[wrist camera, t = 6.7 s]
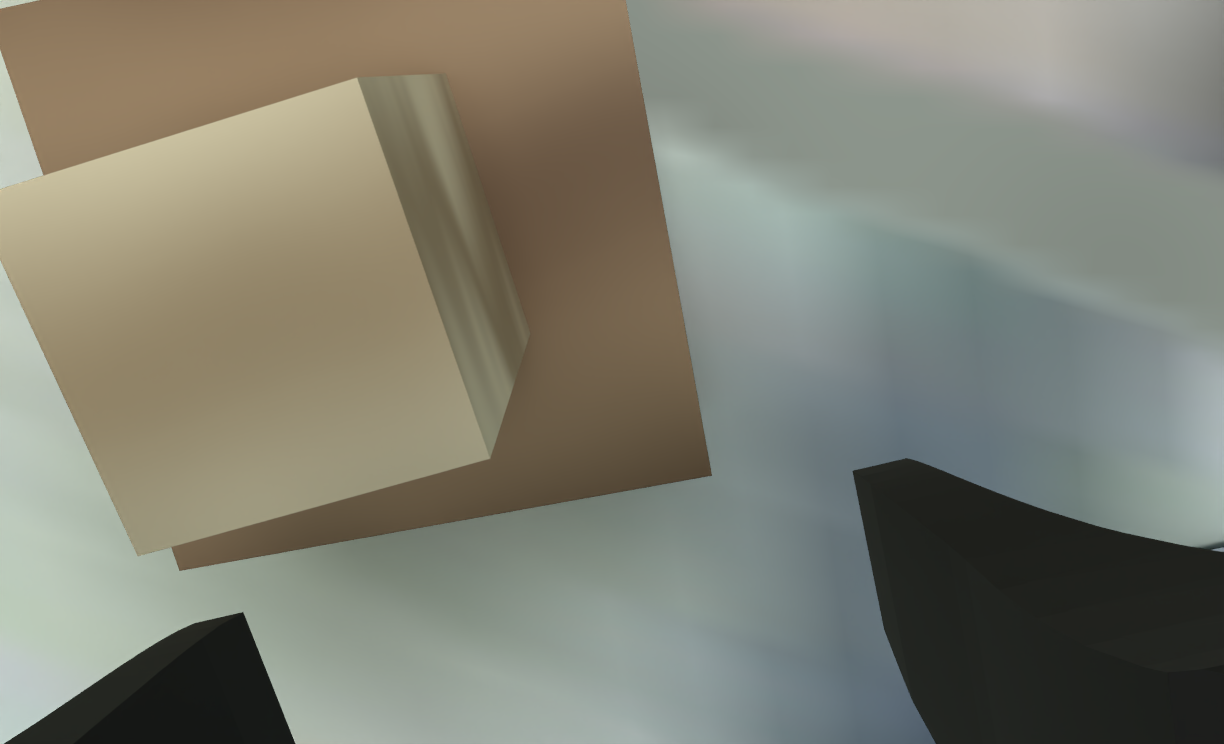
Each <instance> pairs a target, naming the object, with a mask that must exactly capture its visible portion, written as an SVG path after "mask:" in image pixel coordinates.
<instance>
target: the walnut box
mask: <svg viewBox="0 0 1224 744" xmlns="http://www.w3.org/2000/svg"><path fill="white" fill-rule="evenodd" d="M0 50H1V53H2V56H3V59H4V62H5V65H6V68H7V70H8V73H9V76H10V79H11V82H12V85H13V88H14V91H15V94H16V97H17V100H18V102H19V105H20V108H21V111H22V114H23V117H24V120H25V123H26V126H27V129H28V132H29V134H30V137H31V140H32V143H33V146H34V149H35V152H36V155H37V158H38V161H39V163H40V166H41V169H42V172H43V175H47V174H50V173H53V172H57V171H60V170H63V169H66V168H69V167H73V166H76V165H79V164H82V163H85V162H89V161H92V160H95V159H98V158H101V157H105V156H108V155H111V154H114V153H117V152H121V151H124V150H127V149H130V148H133V147H136V146H140V145H143V144H146V143H149V142H152V141H156V140H159V139H162V138H165V137H168V136H172V135H175V134H178V133H181V132H184V131H188V130H191V129H194V128H197V127H200V126H204V125H207V124H210V123H213V122H216V121H220V120H223V119H226V118H229V117H232V116H236V115H239V114H242V113H245V112H248V111H252V110H255V109H258V108H261V107H264V106H268V105H271V104H274V103H277V102H280V101H284V100H287V99H290V98H293V97H296V96H300V95H303V94H306V93H309V92H312V91H316V90H319V89H322V88H325V87H328V86H332V85H335V84H338V83H341V82H344V81H348V80H351V79H354V78H359V77H380V76H401V75H422V74H444V73H446V76H447V79H448V82H449V85H450V88H451V91H452V94H453V97H454V100H455V103H456V107H457V110H458V113H459V116H460V119H461V122H462V125H463V128H464V131H465V134H466V137H467V140H468V143H469V146H470V149H471V153H472V156H473V159H474V162H475V165H476V168H477V171H478V174H479V177H480V180H481V183H482V186H483V189H484V192H485V196H486V199H487V202H488V205H489V208H490V211H491V214H492V217H493V220H494V223H495V226H496V229H497V232H498V235H499V238H500V242H501V245H502V248H503V251H504V254H505V257H506V260H507V263H508V266H509V269H510V272H511V275H512V278H513V281H514V284H515V288H516V291H517V294H518V297H519V300H520V303H521V306H522V309H523V312H524V315H525V318H526V321H527V324H528V327H529V331H530V336H529V339H528V342H527V345H526V349H525V352H524V355H523V358H522V361H521V364H520V367H519V370H518V374H517V377H516V380H515V383H514V386H513V389H512V392H511V395H510V398H509V402H508V405H507V408H506V411H505V414H504V417H503V420H502V423H501V426H500V430H499V433H498V436H497V439H496V442H495V445H494V448H493V451H492V454H491V458H490V459H487V460H484V461H480V462H476V463H473V464H469V465H466V466H462V467H458V468H455V469H451V470H448V471H444V472H440V473H437V474H433V475H430V476H426V477H422V478H419V479H415V480H411V481H408V482H404V483H401V484H397V485H393V486H390V487H386V488H383V489H379V490H375V491H372V492H368V493H365V494H361V495H357V496H354V497H350V498H347V499H343V500H339V501H336V502H332V503H328V504H325V505H321V506H318V507H314V508H310V509H307V510H303V511H300V512H296V513H292V514H289V515H285V516H282V517H278V518H274V519H271V520H267V521H264V522H260V523H256V524H253V525H249V526H245V527H242V528H238V529H235V530H231V531H227V532H224V533H220V534H217V535H213V536H209V537H206V538H202V539H199V540H195V541H191V542H188V543H184V544H181V545H177V546H173V547H172V550H173V553H174V556H175V559H176V562H177V565H178V568H179V571H181V570H187V569H192V568H198V567H204V566H209V565H215V564H220V563H226V562H231V561H237V560H243V559H248V558H254V557H259V556H265V555H271V554H276V553H282V552H287V551H293V550H299V549H304V548H310V547H315V546H321V545H326V544H332V543H338V542H343V541H349V540H354V539H360V538H366V537H371V536H377V535H382V534H388V533H393V532H399V531H405V530H410V529H416V528H421V527H427V526H433V525H438V524H444V523H449V522H455V521H461V520H466V519H472V518H477V517H483V516H488V515H494V514H500V513H505V512H511V511H516V510H522V509H528V508H533V507H539V506H544V505H550V504H556V503H561V502H567V501H572V500H578V499H583V498H589V497H595V496H600V495H606V494H611V493H617V492H623V491H628V490H634V489H639V488H645V487H651V486H656V485H662V484H667V483H673V482H678V481H684V480H690V479H695V478H701V477H706V476H712V474H711V468H710V463H709V457H708V452H707V446H706V441H705V435H704V430H703V424H702V419H701V413H700V408H699V402H698V397H697V391H696V386H695V380H694V375H693V369H692V364H691V358H690V353H689V347H688V342H687V336H686V331H685V325H684V319H683V314H682V308H681V303H680V297H679V292H678V286H677V281H676V275H675V270H674V264H673V259H672V253H671V248H670V242H669V237H668V231H667V226H666V220H665V215H664V209H663V204H662V198H661V193H660V187H659V182H658V176H657V171H656V165H655V160H654V154H653V149H652V143H651V138H650V132H649V127H648V121H647V116H646V110H645V105H644V99H643V94H642V88H641V83H640V77H639V72H638V66H637V62H636V55H635V50H634V44H633V39H632V33H631V28H630V22H629V17H628V11H627V6H626V0H39V1H34V2H30V3H25V4H20V5H16V6H11V7H6V8H2V9H0Z"/></svg>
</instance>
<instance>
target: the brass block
mask: <svg viewBox="0 0 1224 744" xmlns="http://www.w3.org/2000/svg"><path fill="white" fill-rule="evenodd" d="M0 260H1V262H2V265H3V267H4V269H5V271H6V273H7V275H8V278H9V280H10V282H11V284H12V286H13V288H14V291H15V293H16V295H17V297H18V299H19V301H20V303H21V306H22V308H23V310H24V312H25V314H26V316H27V319H28V321H29V323H30V325H31V327H32V329H33V331H34V334H35V336H36V338H37V340H38V342H39V344H40V347H41V349H42V351H43V353H44V355H45V357H46V359H47V362H48V364H49V366H50V368H51V370H52V372H53V375H54V377H55V379H56V381H57V383H58V385H59V387H60V390H61V392H62V394H63V396H64V398H65V400H66V403H67V405H68V407H69V409H70V411H71V413H72V415H73V418H74V420H75V422H76V424H77V426H78V428H79V431H80V433H81V435H82V437H83V439H84V441H85V444H86V446H87V448H88V450H89V452H90V454H91V456H92V459H93V461H94V463H95V465H96V467H97V469H98V472H99V474H100V476H101V478H102V480H103V482H104V484H105V487H106V489H107V491H108V493H109V495H110V497H111V500H112V502H113V504H114V506H115V508H116V510H117V512H118V515H119V517H120V519H121V521H122V523H123V525H124V528H125V530H126V532H127V534H128V536H129V538H130V540H131V543H132V545H133V547H134V549H135V551H136V553H137V556H141V555H144V554H148V553H152V552H155V551H159V550H162V549H166V548H170V547H173V546H177V545H181V544H184V543H188V542H191V541H195V540H199V539H202V538H206V537H209V536H213V535H217V534H220V533H224V532H227V531H231V530H235V529H238V528H242V527H245V526H249V525H253V524H256V523H260V522H264V521H267V520H271V519H274V518H278V517H282V516H285V515H289V514H292V513H296V512H300V511H303V510H307V509H310V508H314V507H318V506H321V505H325V504H328V503H332V502H336V501H339V500H343V499H347V498H350V497H354V496H357V495H361V494H365V493H368V492H372V491H375V490H379V489H383V488H386V487H390V486H393V485H397V484H401V483H404V482H408V481H411V480H415V479H419V478H422V477H426V476H430V475H433V474H437V473H440V472H444V471H448V470H451V469H455V468H458V467H462V466H466V465H469V464H473V463H476V462H480V461H484V460H487V459H490V458H491V454H492V451H493V448H494V445H495V442H496V439H497V436H498V433H499V430H500V426H501V423H502V420H503V417H504V414H505V411H506V408H507V405H508V402H509V398H510V395H511V392H512V389H513V386H514V383H515V380H516V377H517V374H518V370H519V367H520V364H521V361H522V358H523V355H524V352H525V349H526V345H527V342H528V339H529V336H530V331H529V327H528V324H527V321H526V318H525V315H524V312H523V309H522V306H521V303H520V300H519V297H518V294H517V291H516V288H515V284H514V281H513V278H512V275H511V272H510V269H509V266H508V263H507V260H506V257H505V254H504V251H503V248H502V245H501V242H500V238H499V235H498V232H497V229H496V226H495V223H494V220H493V217H492V214H491V211H490V208H489V205H488V202H487V199H486V196H485V192H484V189H483V186H482V183H481V180H480V177H479V174H478V171H477V168H476V165H475V162H474V159H473V156H472V153H471V149H470V146H469V143H468V140H467V137H466V134H465V131H464V128H463V125H462V122H461V119H460V116H459V113H458V110H457V107H456V103H455V100H454V97H453V94H452V91H451V88H450V85H449V82H448V79H447V76H446V73H444V74H422V75H401V76H380V77H359V78H354V79H351V80H348V81H344V82H341V83H338V84H335V85H332V86H328V87H325V88H322V89H319V90H316V91H312V92H309V93H306V94H303V95H300V96H296V97H293V98H290V99H287V100H284V101H280V102H277V103H274V104H271V105H268V106H264V107H261V108H258V109H255V110H252V111H248V112H245V113H242V114H239V115H236V116H232V117H229V118H226V119H223V120H220V121H216V122H213V123H210V124H207V125H204V126H200V127H197V128H194V129H191V130H188V131H184V132H181V133H178V134H175V135H172V136H168V137H165V138H162V139H159V140H156V141H152V142H149V143H146V144H143V145H140V146H136V147H133V148H130V149H127V150H124V151H121V152H117V153H114V154H111V155H108V156H105V157H101V158H98V159H95V160H92V161H89V162H85V163H82V164H79V165H76V166H73V167H69V168H66V169H63V170H60V171H57V172H53V173H50V174H47V175H44V176H41V177H37V178H34V179H31V180H28V181H25V182H21V183H18V184H15V185H12V186H9V187H5V188H2V189H0Z"/></svg>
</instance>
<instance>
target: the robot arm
mask: <svg viewBox="0 0 1224 744" xmlns="http://www.w3.org/2000/svg"><path fill="white" fill-rule="evenodd" d="M853 475H854V480H855V485H856V490H857V495H858V500H859V505H860V510H861V515H862V520H863V525H864V530H865V535H866V540H867V546H868V551H869V556H870V561H871V566H872V571H873V576H874V581H875V586H876V591H877V596H878V601H879V606H880V611H881V616H882V621H883V626H884V630H885V633H886V635H887V638H888V640H889V643H890V645H891V648H892V651H893V653H894V656H895V658H896V661H897V664H898V666H899V669H900V671H901V674H902V676H903V679H904V681H905V683H906V686H907V688H908V691H909V693H910V696H911V698H912V701H913V703H914V704H915V706H916V708H917V710H918V712H919V714H920V715H921V717H922V719H923V721H924V723H925V725H926V726H927V728H928V730H929V732H930V733H931V735H932V737H933V739H934V741H935V742H936V744H1224V547H1222V548H1218V549H1213V550H1207V549H1201V548H1195V547H1189V546H1183V545H1178V544H1173V543H1169V542H1164V541H1159V540H1154V539H1150V538H1145V537H1140V536H1136V535H1131V534H1126V533H1122V532H1118V531H1114V530H1110V529H1106V528H1102V527H1099V526H1095V525H1091V524H1088V523H1085V522H1082V521H1078V520H1075V519H1072V518H1069V517H1065V516H1062V515H1059V514H1056V513H1052V512H1049V511H1046V510H1043V509H1040V508H1037V507H1034V506H1032V505H1029V504H1026V503H1023V502H1020V501H1018V500H1015V499H1012V498H1009V497H1007V496H1004V495H1001V494H999V493H996V492H994V491H991V490H989V489H986V488H983V487H981V486H978V485H976V484H973V483H971V482H969V481H966V480H964V479H961V478H959V477H956V476H954V475H951V474H949V473H947V472H944V471H942V470H939V469H937V468H934V467H932V466H929V465H926V464H924V463H921V462H918V461H915V460H911V459H907V458H906V459H902V460H898V461H893V462H889V463H885V464H880V465H876V466H872V467H867V468H863V469H859V470H854V471H853ZM4 744H295V742H294V739H293V737H292V734H291V732H290V729H289V727H288V724H287V722H286V719H285V717H284V714H283V712H282V709H281V707H280V704H279V702H278V699H277V696H276V694H275V691H274V689H273V686H272V684H271V681H270V679H269V676H268V674H267V671H266V669H265V666H264V664H263V661H262V659H261V656H260V654H259V651H258V649H257V646H256V643H255V641H254V638H253V636H252V633H251V631H250V628H249V626H248V623H247V621H246V618H245V616H244V613H243V612H242V613H238V614H233V615H229V616H225V617H220V618H216V619H212V620H207V621H203V622H199V623H194V624H192V625H190V626H188V627H186V628H183V629H181V630H179V631H177V632H175V633H173V634H171V635H170V636H168V637H166V638H164V639H163V640H161V641H159V642H157V643H156V644H154V645H153V646H151V647H149V648H148V649H146V650H144V651H143V652H141V653H140V654H138V655H137V656H135V657H134V658H132V659H130V660H129V661H127V662H126V663H124V664H123V665H121V666H120V667H118V668H117V669H115V670H114V671H112V672H111V673H109V674H108V675H106V676H105V677H103V678H102V679H100V680H99V681H97V682H96V683H95V684H93V685H92V686H90V687H89V688H87V689H86V690H84V691H83V692H81V693H80V694H78V695H77V696H75V697H74V698H72V699H71V700H69V701H68V702H67V703H65V704H64V705H62V706H61V707H59V708H58V709H56V710H55V711H53V712H52V713H50V714H49V715H47V716H46V717H44V718H43V719H41V720H40V721H38V722H37V723H35V724H34V725H32V726H31V727H29V728H28V729H26V730H25V731H23V732H21V733H20V734H18V735H17V736H15V737H14V738H12V739H11V740H9V741H8V742H6V743H4Z"/></svg>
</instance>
